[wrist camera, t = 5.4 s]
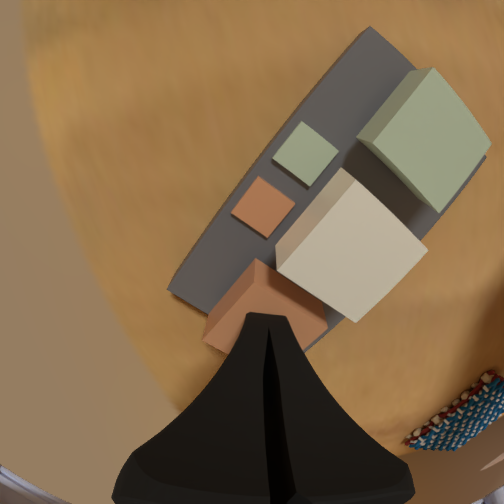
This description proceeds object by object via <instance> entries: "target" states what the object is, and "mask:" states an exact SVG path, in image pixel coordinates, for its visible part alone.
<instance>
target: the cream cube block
mask: <svg viewBox="0 0 504 504" xmlns="http://www.w3.org/2000/svg"><path fill="white" fill-rule="evenodd" d="M275 249H276V265H277V271H278V272H280V273H281V274H283V275H284V276H286V277H287V278H289V279H290V280H292V281H293V282H295V283H296V284H298V285H299V286H301V287H302V288H304V289H305V290H307V291H308V292H310V293H311V294H313V295H314V296H316V297H317V298H319V299H320V300H322V301H323V302H325V303H326V304H328V305H329V306H331V307H332V308H334V309H335V310H337V311H338V312H340V313H341V314H343V315H344V316H346V317H347V318H349V319H350V320H352V321H353V322H355V323H356V322H357V321H359V320H360V319H361V318H362V317H363V316H364V315H365V314H366V313H367V312H368V311H369V310H370V309H372V308H373V307H374V306H375V305H376V304H377V303H378V302H379V301H380V300H381V299H382V298H383V297H384V296H385V295H386V294H387V293H388V292H389V291H390V290H391V289H392V288H393V287H394V286H395V285H396V284H397V283H398V282H399V281H400V280H401V279H402V278H403V277H404V276H405V275H406V274H407V273H408V272H409V271H410V270H411V269H412V268H413V267H414V265H415V264H416V263H417V262H418V261H419V260H420V259H421V258H422V257H423V256H424V255H425V254H426V252H427V251H428V249H427V248H426V247H425V246H424V245H423V244H422V243H421V242H420V241H419V240H418V239H417V238H416V237H415V236H414V235H413V234H412V232H411V231H410V230H409V229H408V228H407V227H406V226H405V225H404V224H403V223H402V222H401V221H400V220H399V219H398V218H397V217H396V216H395V215H394V214H393V213H392V212H391V211H389V210H388V209H387V208H386V207H385V206H384V205H383V204H382V203H381V202H380V201H379V200H378V199H377V198H376V197H375V196H374V195H373V194H371V193H370V192H369V191H368V190H367V189H366V188H365V187H364V186H363V185H362V184H360V183H359V182H358V181H357V180H356V179H355V178H354V177H352V176H351V175H350V174H349V173H348V172H346V171H345V170H344V169H343V168H340V169H339V170H338V171H337V173H336V174H335V175H334V176H333V177H332V179H331V180H330V181H329V182H328V183H327V185H326V186H325V187H324V188H323V189H322V191H321V192H320V193H319V194H318V195H317V196H316V198H315V199H314V200H313V201H312V202H311V204H310V205H309V206H308V207H307V208H306V210H305V211H304V212H303V213H302V214H301V216H300V217H299V218H298V219H297V220H296V221H295V223H294V224H293V225H292V226H291V227H290V229H289V230H288V231H287V232H286V233H285V234H284V236H283V237H282V238H281V239H280V240H279V242H278V243H277V244H276V245H275Z"/></svg>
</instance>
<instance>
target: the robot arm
mask: <svg viewBox="0 0 504 504" xmlns="http://www.w3.org/2000/svg"><path fill="white" fill-rule="evenodd" d="M414 494H415V488H414V484H413V479H412V475H411V473H410V470H409V467H408V464H407V463H405V462H404V461H402V460H401V459H399V458H398V457H396V456H395V455H394V454H392V453H391V452H389V451H388V450H386V449H385V448H384V447H382V446H381V445H380V444H379V443H378V442H376V441H375V440H374V439H373V438H372V437H370V436H369V435H368V434H367V433H366V432H365V431H364V430H363V429H362V428H361V427H360V426H359V425H358V424H357V423H356V422H355V421H354V420H353V419H352V418H351V417H350V416H349V415H348V414H347V413H346V412H345V411H344V410H343V408H342V407H341V406H340V405H339V404H338V403H337V401H336V400H335V399H334V398H333V396H332V395H331V394H330V393H329V391H328V390H327V389H326V387H325V386H324V384H323V383H322V381H321V380H320V378H319V377H318V375H317V374H316V372H315V371H314V369H313V368H312V366H311V364H310V363H309V361H308V359H307V357H306V356H305V354H304V352H303V350H302V348H301V347H300V345H299V343H298V341H297V339H296V337H295V335H294V332H293V330H292V328H291V326H290V323H289V321H288V319H287V317H286V316H284V315H274V314H265V313H256V312H248V313H247V314H246V317H245V321H244V324H243V327H242V329H241V332H240V334H239V336H238V338H237V340H236V342H235V344H234V346H233V348H232V349H231V351H230V353H229V355H228V356H227V358H226V359H225V361H224V362H223V364H222V365H221V367H220V369H219V370H218V371H217V373H216V374H215V376H214V377H213V378H212V380H211V381H210V382H209V383H208V385H207V386H206V387H205V388H204V389H203V391H202V392H201V393H200V394H199V395H198V396H197V397H196V398H195V400H194V401H193V402H192V403H191V404H190V405H189V406H188V407H187V408H186V409H185V410H184V411H183V412H182V413H181V414H180V415H179V416H178V417H176V418H175V419H174V420H173V421H172V422H171V423H170V424H169V425H167V426H166V427H165V428H164V429H163V430H162V431H161V432H159V433H158V434H157V435H155V436H154V437H153V438H151V439H150V440H148V441H147V442H146V443H144V444H143V445H142V446H140V447H139V448H137V449H136V450H135V451H134V452H132V454H131V455H130V456H129V458H128V459H127V461H126V463H125V464H124V466H123V467H122V469H121V471H120V473H119V475H118V478H117V480H116V483H115V487H114V490H113V494H112V500H113V501H114V503H115V504H404V503H405V502H407V501H408V500H410V499H411V498H412V497H413V496H414ZM0 504H71V503H68V502H66V501H64V500H62V499H60V498H58V497H56V496H54V495H52V494H50V493H48V492H46V491H44V490H42V489H40V488H38V487H37V486H35V485H33V484H31V483H29V482H28V481H26V480H24V479H23V478H21V477H19V476H18V475H16V474H14V473H13V472H11V471H9V470H8V469H7V468H5V467H3V466H2V465H0ZM471 504H504V485H502V486H500V487H499V488H497V489H495V490H494V491H492V492H491V493H489V494H487V495H486V496H485V497H484V498H482V499H480V500H478V501H476V502H473V503H471Z"/></svg>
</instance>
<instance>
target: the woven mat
mask: <svg viewBox="0 0 504 504" xmlns="http://www.w3.org/2000/svg"><path fill="white" fill-rule="evenodd" d="M494 374H495V371H494V370H492V371H488V372H487V373H486V372H485V373H484V374H483V375H482V376H481V377H480V378H481V379H480V382H479V383H474V384H472V385H471V386H470V387H472V388H474V389H473V390H472V391H471V392H469V391H464V392H463V393H462V394H461V398H462V400H461V401H460V400H459V399H456V400H454V401H453V402H452V404H453V405H454V407H453V408H449V407H444V408H442V409H441V410H440V411H441V412H445V413H444V414H439V415H435V416H434V417H432V419H431V422H426V423H425V424H424V426H428V427H426V428H425V429H423V428H417V429H415V430H414V432H413V434H414V435H408V436H406V437H405V438H408V439H410V440H408V441H407V442H405V445H409V444H410V445H409V447H410V448H411V447H415V450H418V449H419V448H423V450H427V449H430V448H431V450H435V449H439V450H440V451H442V449H446V450H447V451H449V450H451V449H452V450H453V451H455V450H456V449H457V448H458V447H461V446H462V445H464V444H466V442H467V441H469V440H470V439H469V438H473V437H476V435H477V434H478V433H480V432H481V431H483V430H485V429H486V427H487V425H488V424H491V423H492V422H494V421H496V420H497V418H498V416H499V417H500V416H501V413H504V378H503V377H501V376H500V375H499V376H498V374H495V375H494ZM484 382H485V383H486V384H484ZM483 384H484V385H483ZM462 442H463V443H462Z"/></svg>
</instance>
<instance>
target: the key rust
mask: <svg viewBox="0 0 504 504" xmlns="http://www.w3.org/2000/svg"><path fill="white" fill-rule="evenodd" d="M248 312H256V313H265V314H274V315H284V316H286V317H287V319H288V321H289V323H290V326H291V328H292V330H293V332H294V335H295V337H296V339H297V341H298V343H299V345H300V347H301V348H302V350H304V349H305V348H306V347H307V346H308V345H310V344H311V343H312V342H313V341H314V340H315V339H317V338H318V337H319V336H320V335H321V334H322V333H323V332H324V331H326V330H327V329H328V326H327V321H326V317H325V313H324V309H323V305H322V301H320V300H319V299H317V298H315V297H314V296H312V295H311V294H309V293H308V292H306V291H305V290H303V289H302V288H300V287H299V286H297V285H296V284H294V283H293V282H291V281H290V280H288V279H287V278H285V277H284V276H282V275H281V274H279V273H278V272H276V271H275V270H273V269H272V268H270V267H269V266H267V265H266V264H264V263H263V262H261V261H260V260H258V259H257V258H255V259H254V260H253V262H252V263H251V264H250V265H249V266H248V268H247V269H246V270H245V271H244V272H243V274H242V275H241V276H240V277H239V278H238V279H237V281H236V282H235V283H234V284H233V285H232V287H231V288H230V289H229V290H228V291H227V293H226V294H225V295H224V296H223V297H222V298H221V300H220V301H219V302H218V303H217V304H216V306H215V307H214V308H213V309H212V310H211V312H210V313H209V315H208V318H207V322H206V326H205V330H204V334H203V338H202V341H204V342H206V343H208V344H210V345H211V346H213V347H215V348H217V349H219V350H221V351H223V352H225V353H226V354H228V355H229V353H230V351H231V349H232V348H233V346H234V344H235V342H236V340H237V338H238V336H239V334H240V332H241V329H242V327H243V324H244V321H245V317H246V314H247V313H248Z"/></svg>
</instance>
